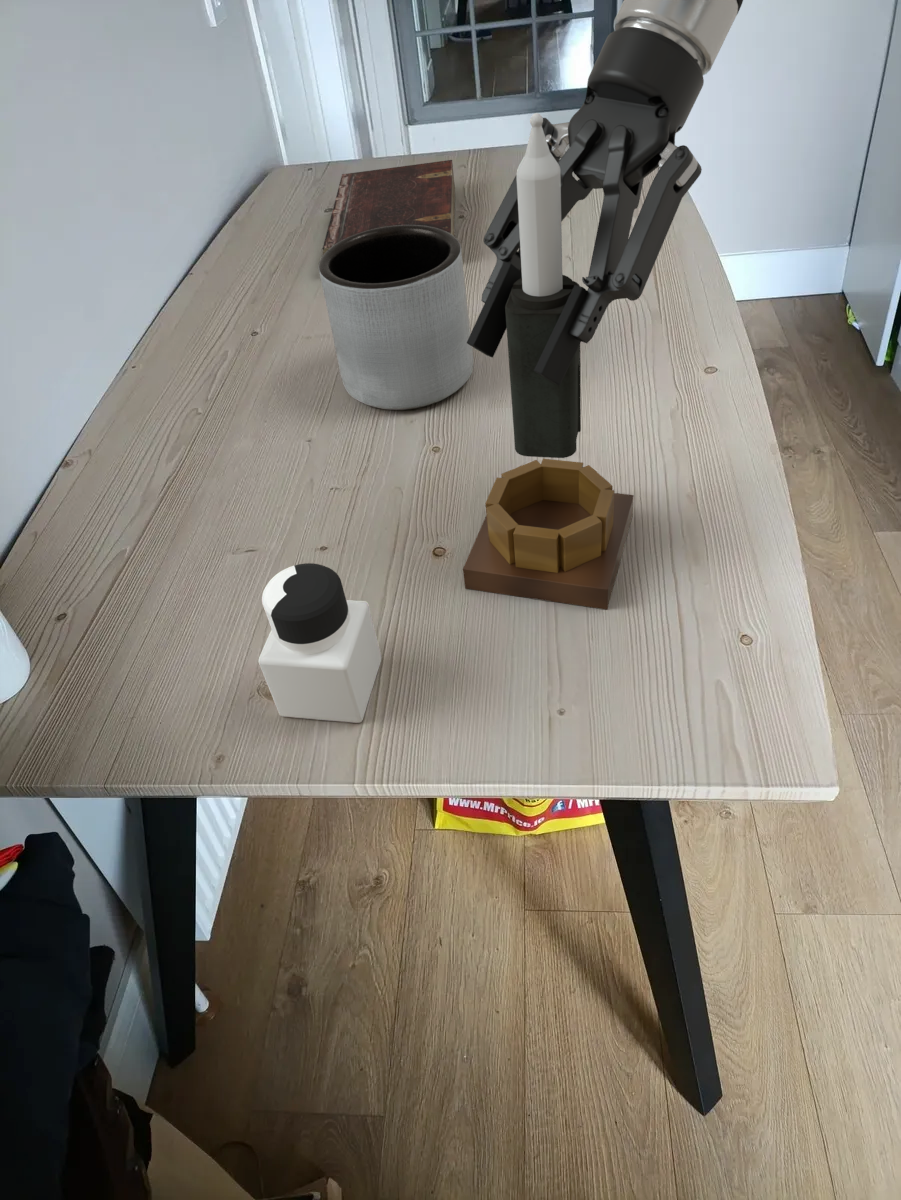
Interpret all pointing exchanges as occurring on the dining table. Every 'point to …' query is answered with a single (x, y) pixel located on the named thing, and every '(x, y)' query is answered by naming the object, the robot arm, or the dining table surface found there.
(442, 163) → the hardback book
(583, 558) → the stand
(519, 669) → the dining table surface
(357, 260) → the planter
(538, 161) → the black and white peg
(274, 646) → the medicine bottle
